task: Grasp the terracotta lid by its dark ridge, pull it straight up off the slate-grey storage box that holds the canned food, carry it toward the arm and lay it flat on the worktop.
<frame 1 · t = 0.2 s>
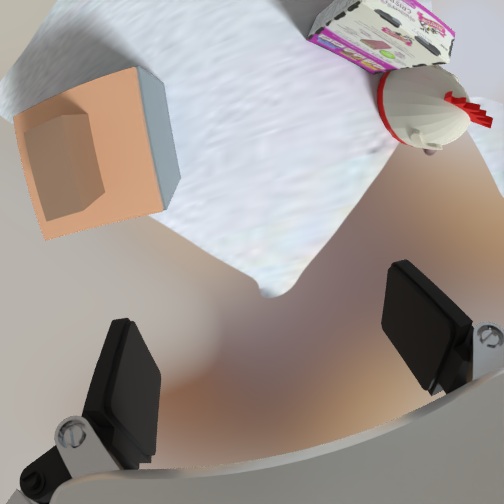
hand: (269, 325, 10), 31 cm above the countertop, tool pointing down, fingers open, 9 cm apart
lid: (82, 157, 22), point 14 cm above the countertop, touching box
box: (124, 142, 34), on the countertop
kitchen timer: (411, 104, 37), on the countertop
candy bar box: (344, 43, 32), on the countertop
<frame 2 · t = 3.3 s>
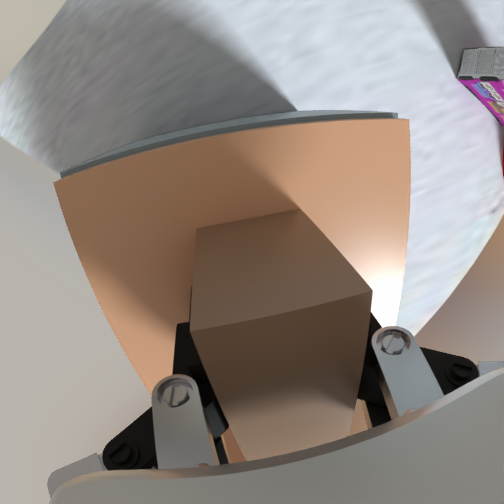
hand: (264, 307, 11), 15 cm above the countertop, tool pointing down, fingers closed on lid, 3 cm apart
lid: (259, 289, 12), point 14 cm above the countertop, touching box, gripper
box: (232, 197, 25), on the countertop
candy bar box: (484, 87, 22), on the countertop
when the fingers open (4 cm above the countertop, at t = 11.0 s): lid drops 2 cm, point 1 cm above the countertop.
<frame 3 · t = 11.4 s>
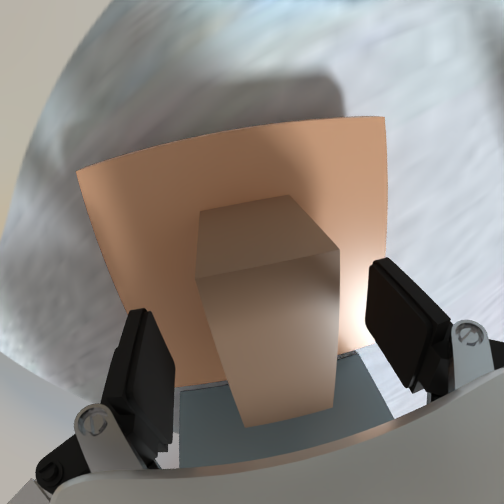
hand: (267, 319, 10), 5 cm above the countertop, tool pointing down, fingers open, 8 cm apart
lid: (254, 268, 14), point 1 cm above the countertop
box: (278, 420, 22), on the countertop
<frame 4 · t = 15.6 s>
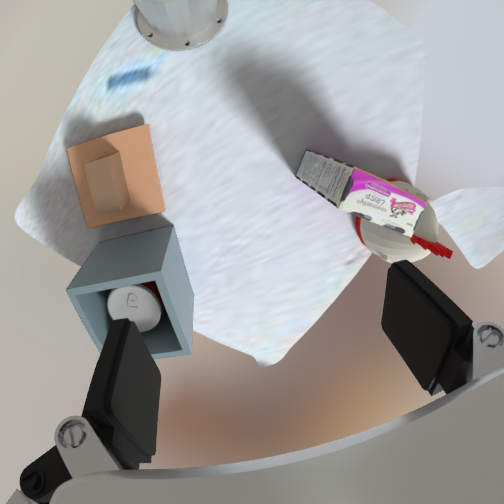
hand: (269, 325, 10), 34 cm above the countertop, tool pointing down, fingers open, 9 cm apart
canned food: (146, 269, 46), resting in box
lid: (115, 177, 38), point 1 cm above the countertop
box: (146, 270, 46), on the countertop
kitchen timer: (388, 216, 48), on the countertop
candy bar box: (330, 173, 44), on the countertop
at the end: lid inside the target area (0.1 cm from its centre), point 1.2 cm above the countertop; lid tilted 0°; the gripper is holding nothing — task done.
